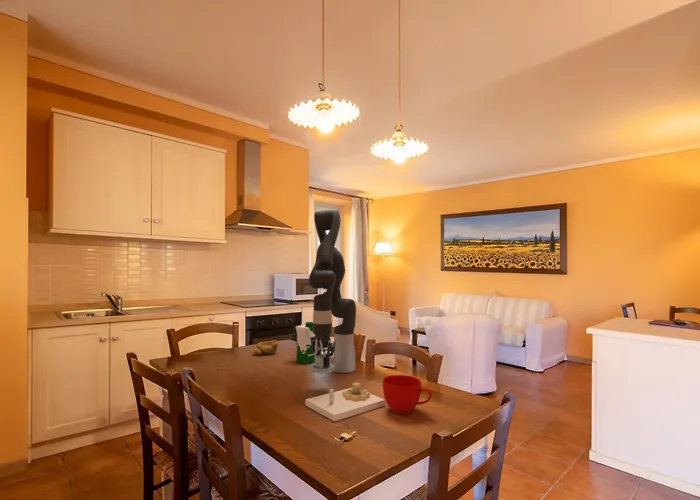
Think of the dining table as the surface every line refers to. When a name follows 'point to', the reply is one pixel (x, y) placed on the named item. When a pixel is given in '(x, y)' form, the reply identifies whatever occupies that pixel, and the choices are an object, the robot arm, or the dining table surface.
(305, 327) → the milk carton
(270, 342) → the bread roll
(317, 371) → the planet gear
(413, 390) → the ceramic cup
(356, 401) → the carrier plate
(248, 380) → the dining table surface
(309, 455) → the dining table surface
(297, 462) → the dining table surface
